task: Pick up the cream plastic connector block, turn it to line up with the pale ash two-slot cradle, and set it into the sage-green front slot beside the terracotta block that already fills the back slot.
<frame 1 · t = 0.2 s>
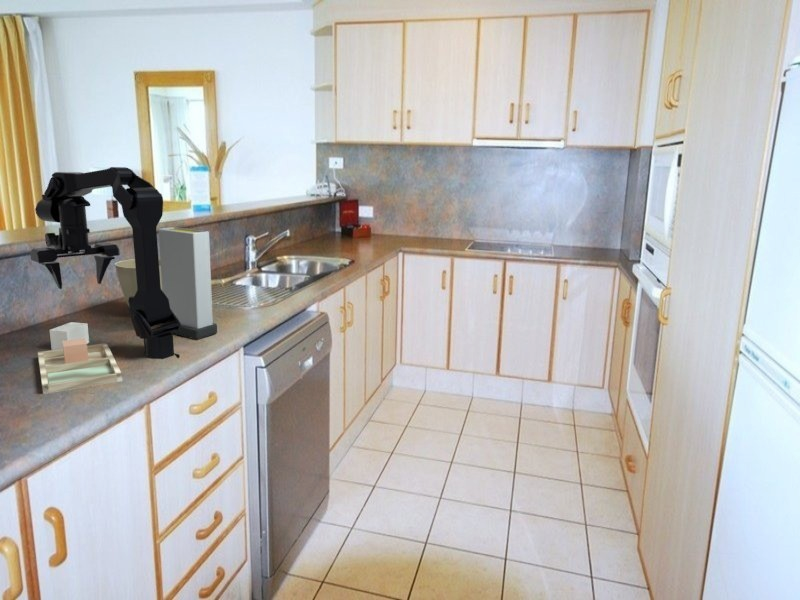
hand: (80, 286, 141), 14 cm above the worktop, fingers open, 9 cm apart
slot cradle: (79, 373, 121), on the worktop
terracotta block: (76, 361, 126), point 1 cm above the worktop, touching slot cradle
plant pot: (146, 315, 168), on the worktop
container: (188, 333, 153), on the worktop
connector block: (71, 350, 136), on the worktop
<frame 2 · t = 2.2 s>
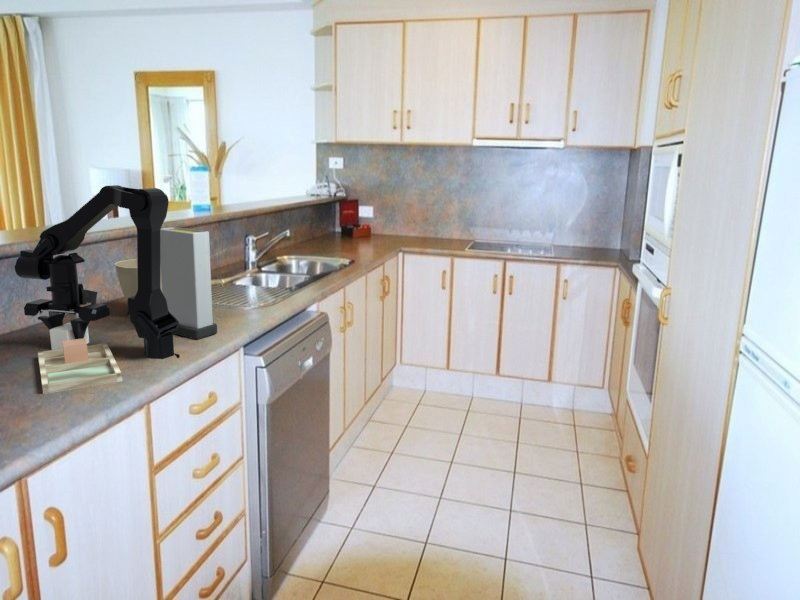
hand: (70, 343, 135), 2 cm above the worktop, fingers closed on connector block, 4 cm apart
connector block: (71, 349, 136), on the worktop, touching gripper
everything else where it was.
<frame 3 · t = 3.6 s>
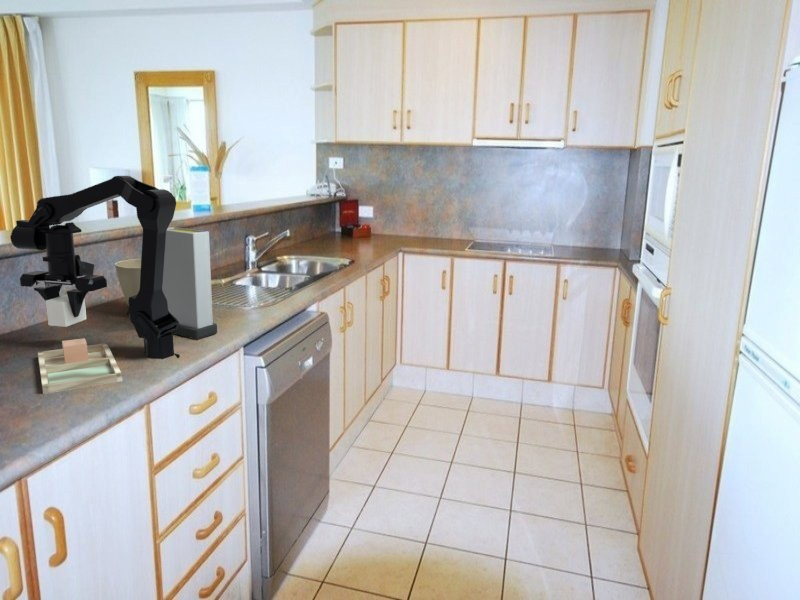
hand: (67, 315, 134), 9 cm above the worktop, fingers closed on connector block, 4 cm apart
connector block: (67, 322, 134), point 7 cm above the worktop, touching gripper
everything else where it was.
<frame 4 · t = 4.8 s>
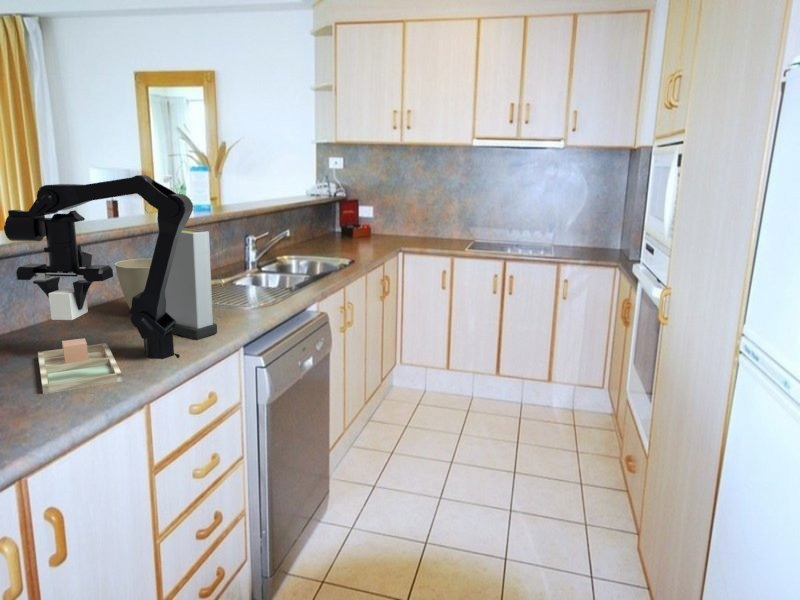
hand: (69, 309, 128), 12 cm above the worktop, fingers closed on connector block, 4 cm apart
connector block: (70, 315, 128), point 10 cm above the worktop, touching gripper
everything else where it was.
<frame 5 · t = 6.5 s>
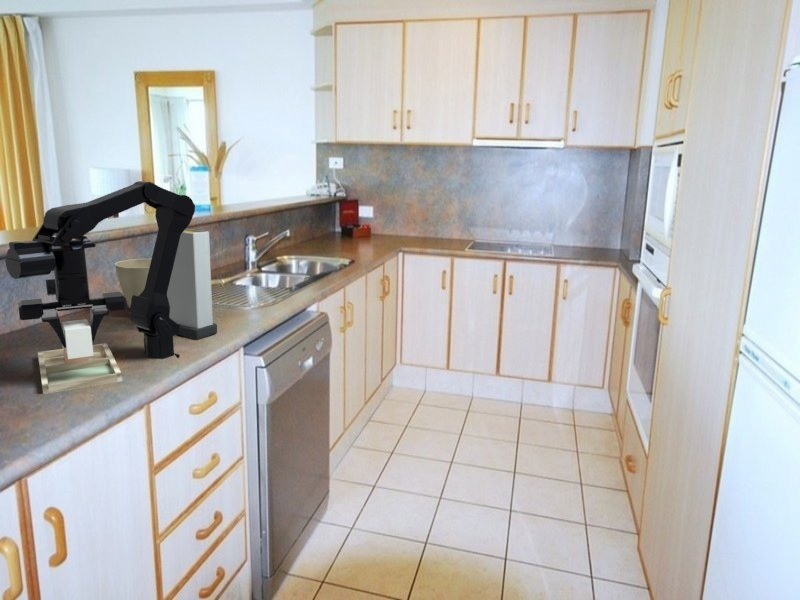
hand: (78, 345, 115), 8 cm above the worktop, fingers closed on connector block, 4 cm apart
connector block: (79, 352, 116), point 6 cm above the worktop, touching gripper
everything else where it was.
when the fingers open (4 cm above the worktop, at t = 7.6 s): connector block stays where it is, resting on slot cradle.
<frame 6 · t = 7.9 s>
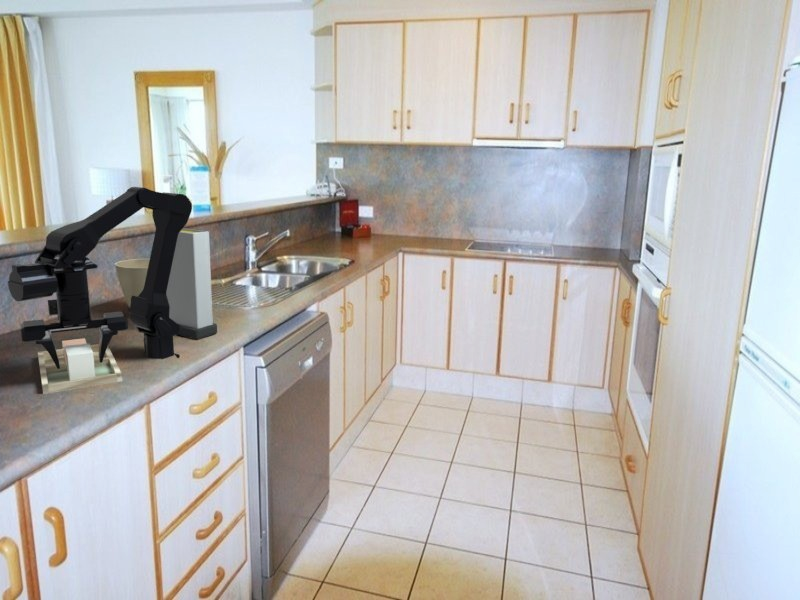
hand: (80, 365, 116), 4 cm above the worktop, fingers open, 7 cm apart
connector block: (81, 376, 117), point 1 cm above the worktop, touching slot cradle
everything else where it was.
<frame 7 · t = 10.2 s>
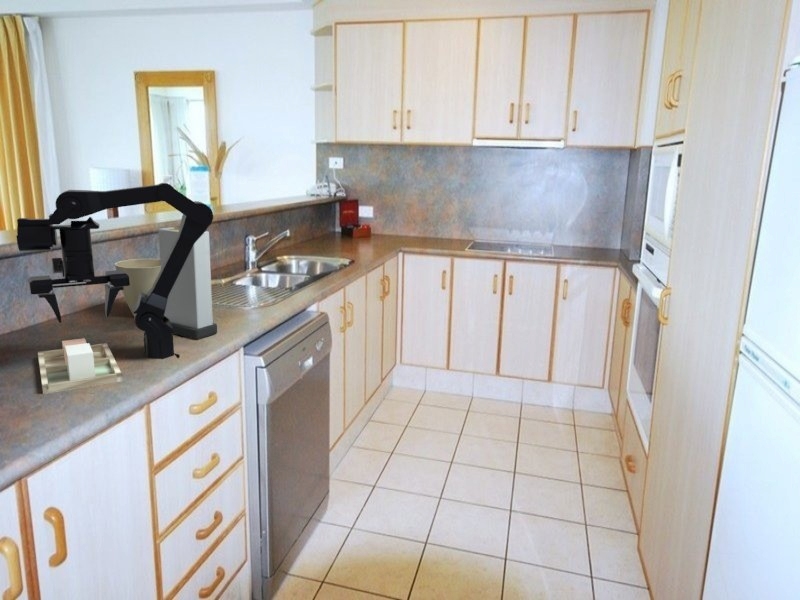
hand: (84, 319, 123), 11 cm above the worktop, fingers open, 9 cm apart
nothing on the worktop moved.
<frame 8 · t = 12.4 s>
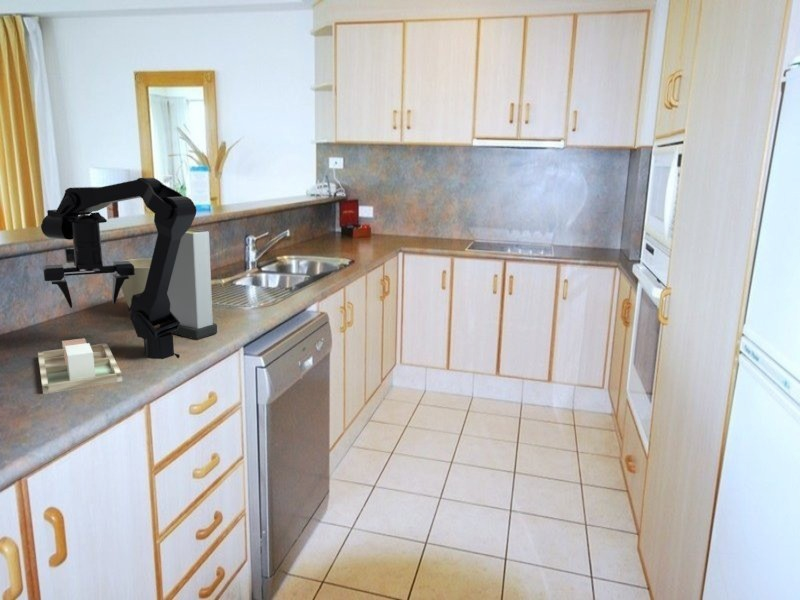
hand: (93, 305, 135), 11 cm above the worktop, fingers open, 9 cm apart
nothing on the worktop moved.
at the end: connector block 0.1 cm from the target spot on the slot cradle, point 1.2 cm above the slot cradle's base; connector block tilted 0°; terracotta block moved 0.0 cm from its start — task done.
